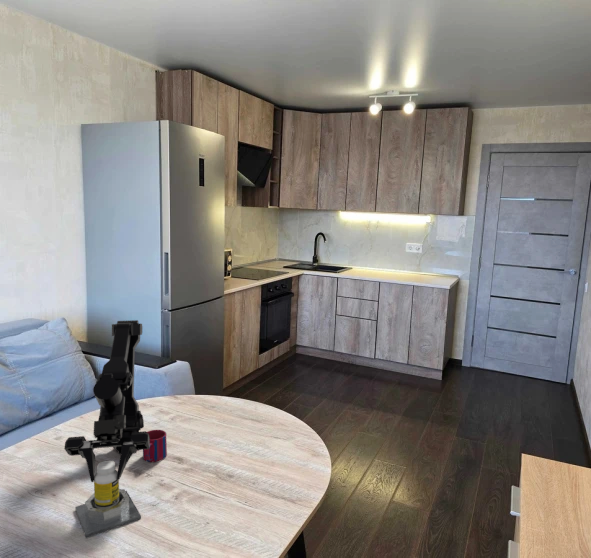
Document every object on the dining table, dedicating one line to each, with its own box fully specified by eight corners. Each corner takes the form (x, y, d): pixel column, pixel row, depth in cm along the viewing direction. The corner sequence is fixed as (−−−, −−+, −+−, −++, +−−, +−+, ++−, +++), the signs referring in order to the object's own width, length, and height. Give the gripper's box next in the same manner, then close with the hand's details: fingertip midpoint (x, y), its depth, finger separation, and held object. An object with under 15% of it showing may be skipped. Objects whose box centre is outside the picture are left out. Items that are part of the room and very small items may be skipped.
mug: (170, 451, 140) (169, 430, 139) (155, 469, 130) (155, 446, 129) (149, 450, 141) (148, 428, 140) (133, 467, 131) (132, 444, 130)
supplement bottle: (115, 510, 108) (114, 470, 106) (91, 510, 107) (89, 471, 106) (122, 495, 113) (120, 458, 112) (99, 496, 113) (97, 458, 111)
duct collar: (126, 493, 119) (126, 479, 118) (140, 518, 109) (140, 503, 108) (75, 509, 112) (74, 495, 111) (86, 538, 102) (85, 522, 102)
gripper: (64, 405, 109) (53, 475, 100) (147, 400, 113) (143, 467, 104) (74, 422, 117) (64, 488, 108) (151, 416, 121) (148, 479, 112)
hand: (105, 480), depth 108 cm, fingers closed on supplement bottle, 5 cm apart
